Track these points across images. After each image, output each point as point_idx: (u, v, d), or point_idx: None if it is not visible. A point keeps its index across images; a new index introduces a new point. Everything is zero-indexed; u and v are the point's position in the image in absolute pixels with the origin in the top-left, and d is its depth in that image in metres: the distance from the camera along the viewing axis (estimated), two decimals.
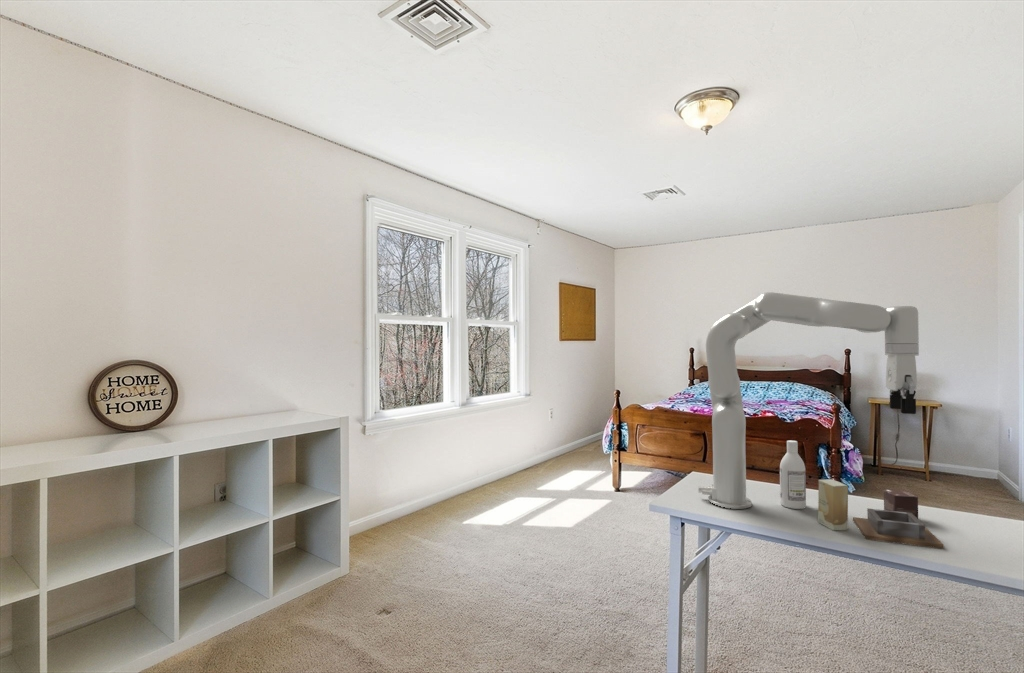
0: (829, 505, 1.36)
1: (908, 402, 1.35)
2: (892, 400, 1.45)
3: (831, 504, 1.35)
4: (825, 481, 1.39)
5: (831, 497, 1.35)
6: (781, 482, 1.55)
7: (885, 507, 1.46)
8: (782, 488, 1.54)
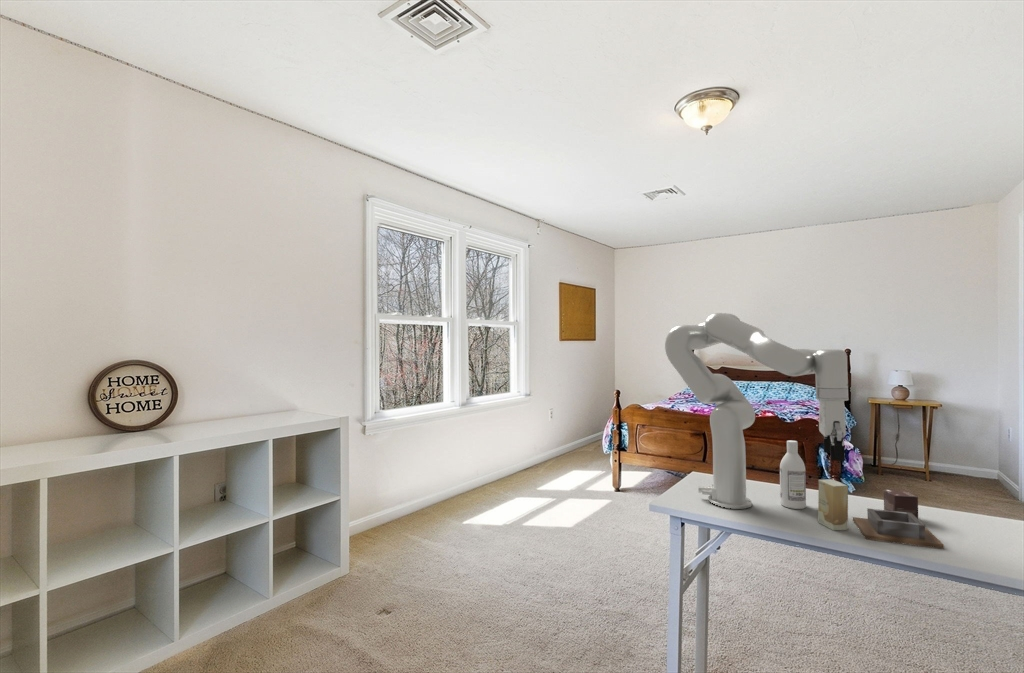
0: (829, 505, 1.36)
1: (837, 449, 1.32)
2: (826, 444, 1.42)
3: (832, 504, 1.35)
4: (825, 481, 1.39)
5: (831, 497, 1.35)
6: (781, 482, 1.55)
7: (885, 507, 1.46)
8: (782, 488, 1.54)
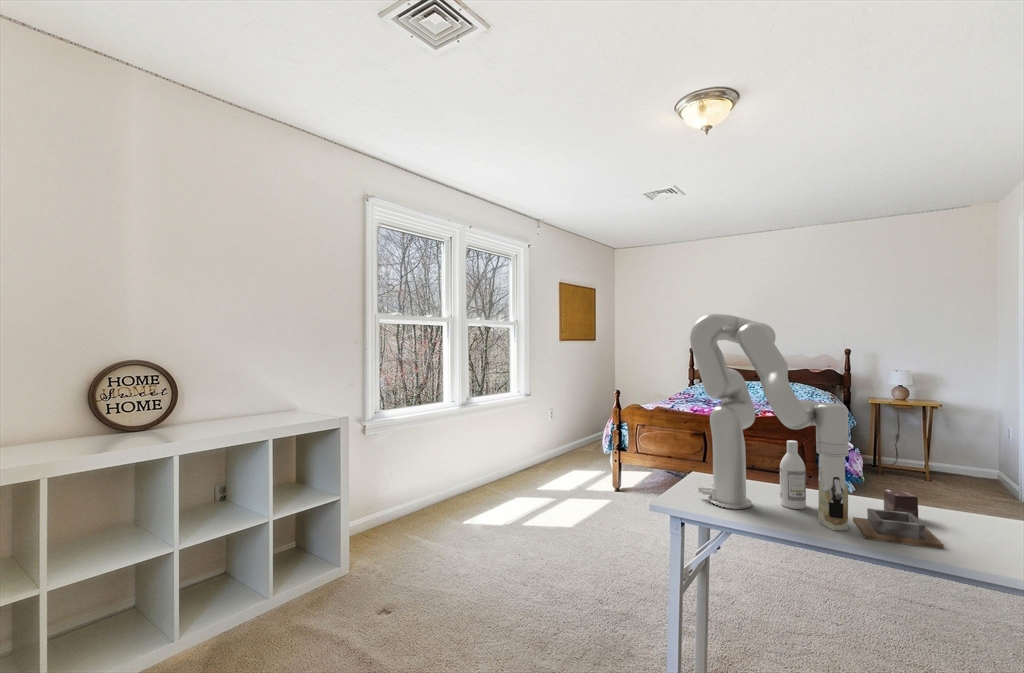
0: None
1: (835, 507, 1.33)
2: None
3: None
4: None
5: None
6: (781, 482, 1.55)
7: (885, 507, 1.46)
8: (782, 488, 1.54)
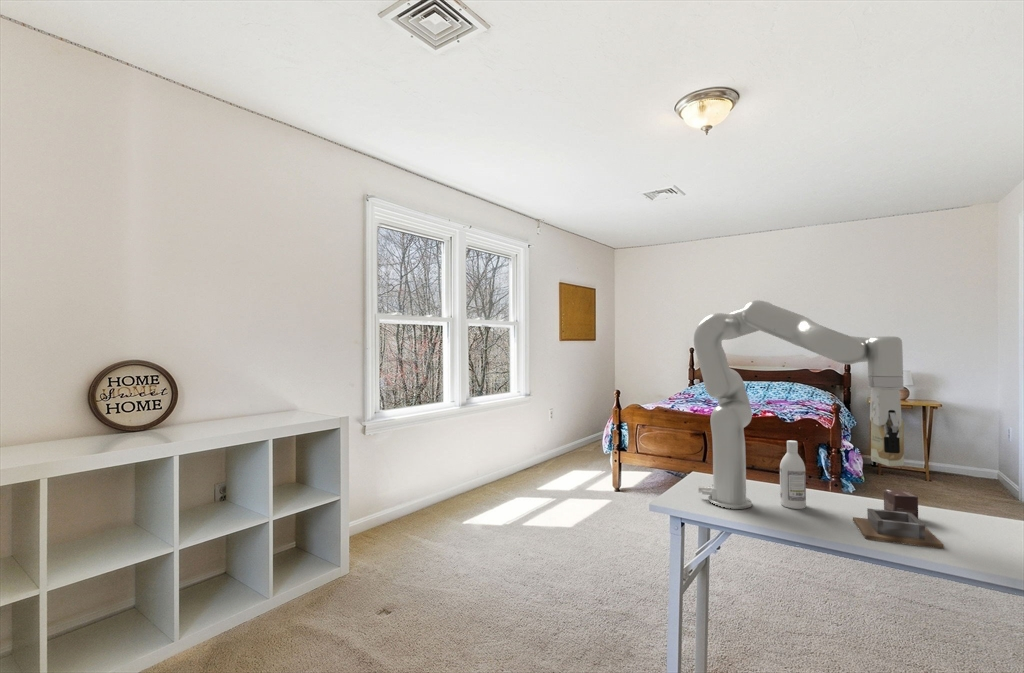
0: None
1: (891, 441, 1.28)
2: None
3: None
4: None
5: None
6: (781, 482, 1.55)
7: (885, 507, 1.46)
8: (782, 488, 1.54)
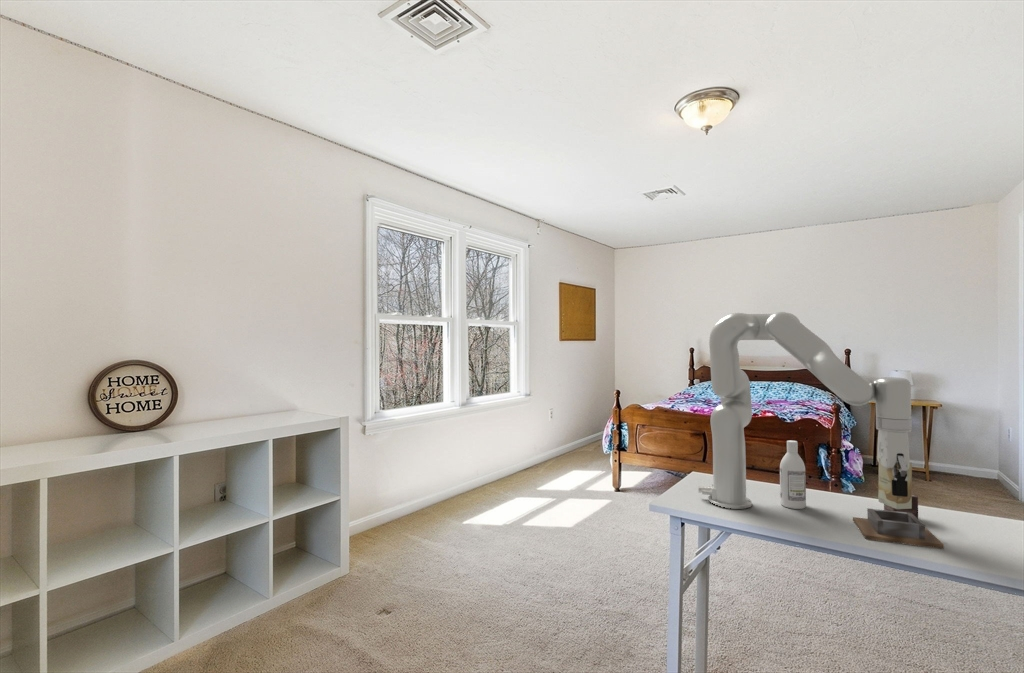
0: None
1: (899, 484, 1.28)
2: None
3: None
4: None
5: None
6: (781, 482, 1.55)
7: (885, 507, 1.46)
8: (782, 488, 1.54)
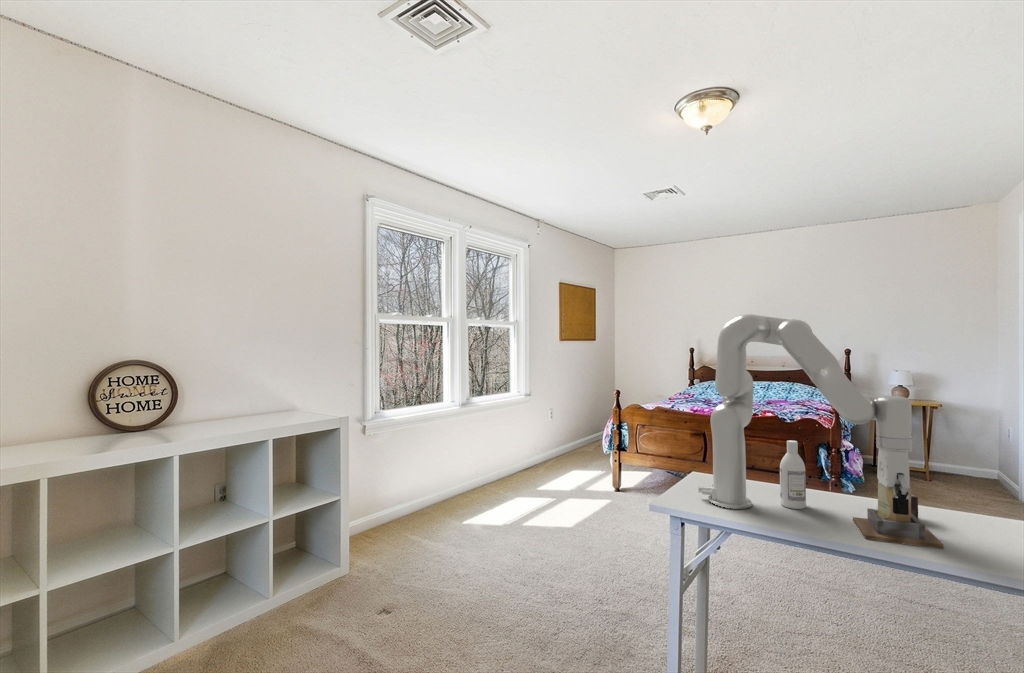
0: (891, 508, 1.30)
1: (900, 502, 1.27)
2: None
3: None
4: None
5: None
6: (781, 482, 1.55)
7: None
8: (782, 488, 1.54)
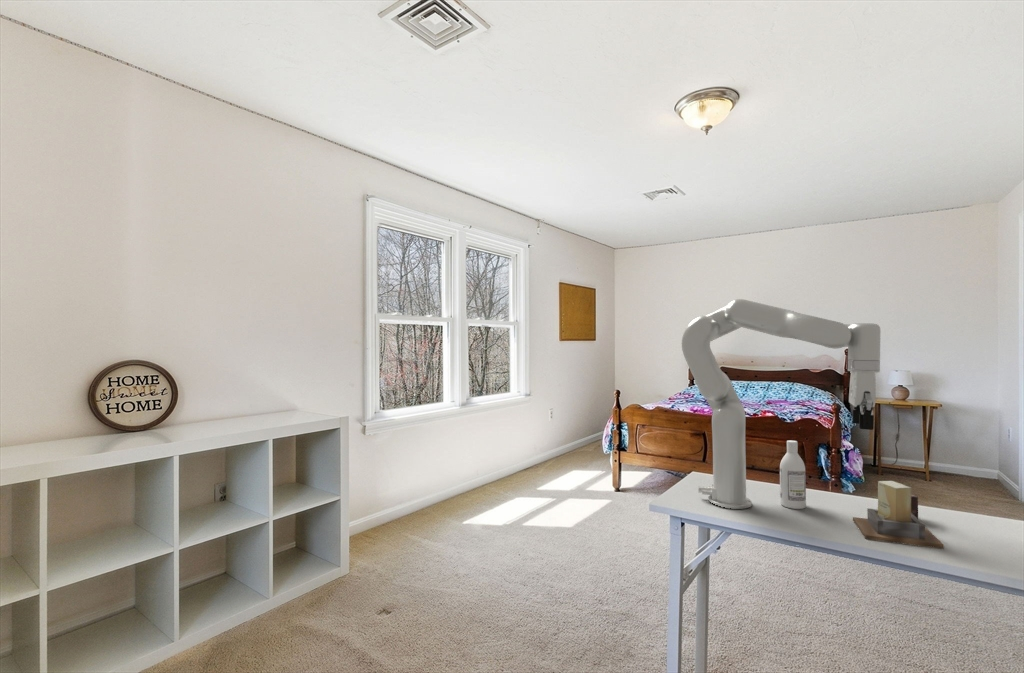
0: (891, 508, 1.30)
1: (866, 418, 1.38)
2: (854, 415, 1.48)
3: (894, 507, 1.30)
4: (886, 483, 1.33)
5: (893, 499, 1.30)
6: (781, 482, 1.55)
7: None
8: (782, 488, 1.54)
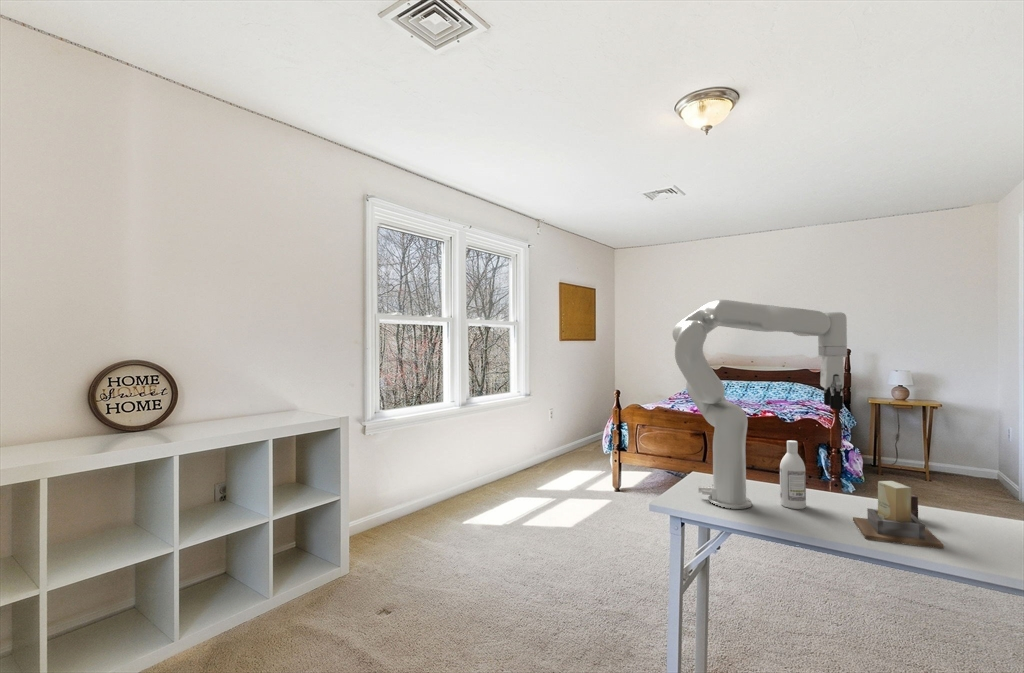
0: (891, 508, 1.30)
1: (836, 399, 1.50)
2: (826, 397, 1.60)
3: (894, 507, 1.30)
4: (885, 483, 1.33)
5: (893, 499, 1.30)
6: (781, 482, 1.55)
7: None
8: (782, 488, 1.54)
